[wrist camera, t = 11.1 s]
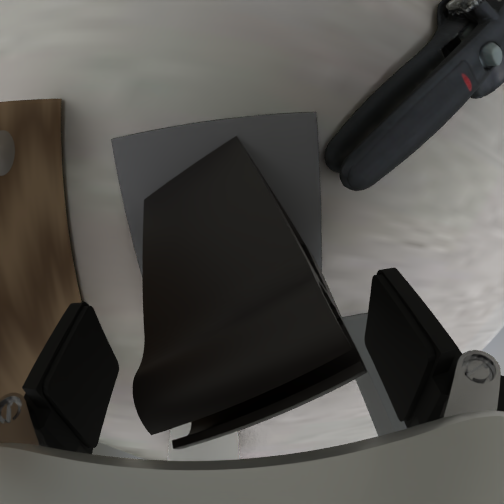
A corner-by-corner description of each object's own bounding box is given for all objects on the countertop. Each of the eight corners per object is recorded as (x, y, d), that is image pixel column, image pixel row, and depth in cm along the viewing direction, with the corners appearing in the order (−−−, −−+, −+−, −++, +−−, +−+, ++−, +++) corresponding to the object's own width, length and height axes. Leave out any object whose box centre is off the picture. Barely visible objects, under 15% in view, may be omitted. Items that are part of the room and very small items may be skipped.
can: (199, 403, 25) (195, 532, 14) (252, 429, 27) (263, 542, 16) (157, 428, 26) (145, 538, 16) (208, 451, 29) (209, 551, 18)
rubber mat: (314, 111, 16) (316, 112, 15) (319, 312, 21) (320, 315, 21) (113, 138, 16) (111, 139, 15) (161, 330, 21) (160, 334, 21)
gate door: (117, 368, 22) (75, 534, 9) (83, 364, 22) (30, 517, 9) (85, 95, 14) (-151, 128, 1) (42, 101, 14) (-173, 152, 1)
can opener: (455, -19, 12) (507, -35, 7) (506, 60, 14) (560, 62, 9) (280, 124, 16) (303, 131, 11) (357, 209, 19) (400, 247, 14)
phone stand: (317, 263, 19) (398, 428, 8) (234, 310, 20) (245, 488, 10) (237, 134, 16) (257, 191, 5) (145, 196, 17) (37, 341, 6)
